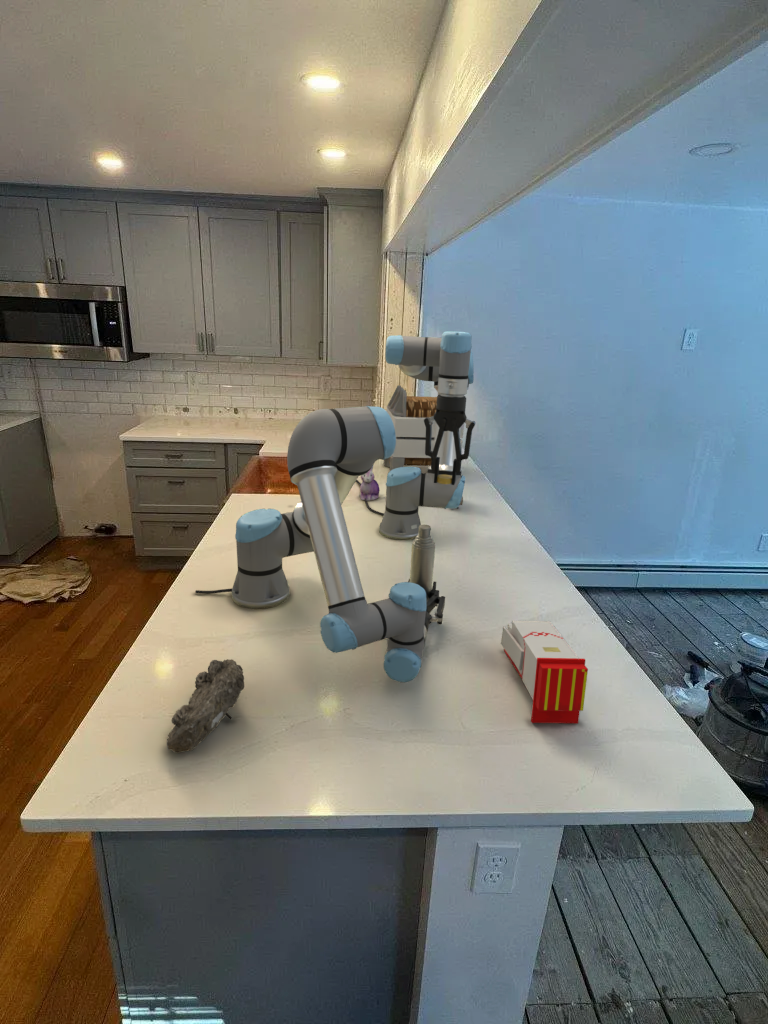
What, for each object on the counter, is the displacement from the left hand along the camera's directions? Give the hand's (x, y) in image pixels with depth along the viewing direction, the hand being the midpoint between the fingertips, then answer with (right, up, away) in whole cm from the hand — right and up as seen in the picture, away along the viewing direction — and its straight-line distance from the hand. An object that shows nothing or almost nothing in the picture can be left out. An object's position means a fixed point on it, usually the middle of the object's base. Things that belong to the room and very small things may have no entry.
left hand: (422, 584), depth 150 cm
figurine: (-16, +25, +86) cm, 91 cm away
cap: (+6, +29, +2) cm, 29 cm away
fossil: (-43, -20, -42) cm, 63 cm away
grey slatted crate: (+7, +38, +125) cm, 131 cm away
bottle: (-1, -8, -3) cm, 8 cm away
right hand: (+6, +27, +3) cm, 28 cm away
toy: (+23, -17, -27) cm, 39 cm away
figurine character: (+18, +22, +82) cm, 87 cm away
